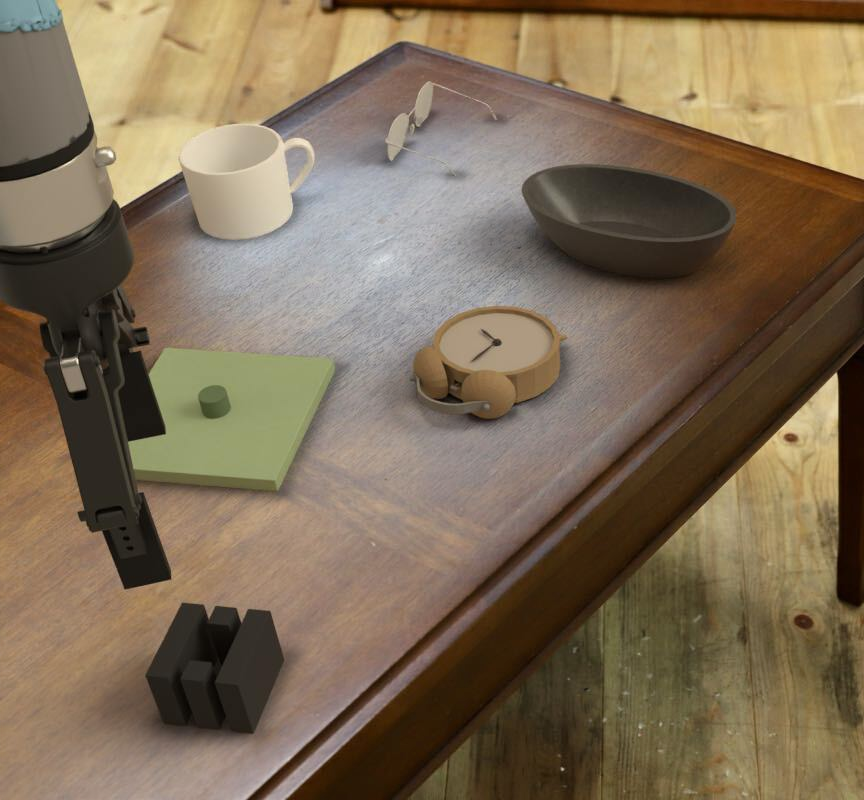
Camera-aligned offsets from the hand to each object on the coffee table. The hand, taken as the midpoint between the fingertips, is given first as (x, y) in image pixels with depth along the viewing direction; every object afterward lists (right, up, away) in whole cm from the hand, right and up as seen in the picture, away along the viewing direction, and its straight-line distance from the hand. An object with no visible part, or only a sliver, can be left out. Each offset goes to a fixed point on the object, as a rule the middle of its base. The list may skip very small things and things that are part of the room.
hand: (146, 503), depth 87 cm
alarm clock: (+18, +8, +36) cm, 41 cm away
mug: (-7, +26, +59) cm, 65 cm away
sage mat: (-4, +5, +33) cm, 34 cm away
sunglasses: (+11, +35, +69) cm, 78 cm away
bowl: (+31, +21, +50) cm, 63 cm away
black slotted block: (+2, -14, +10) cm, 18 cm away
